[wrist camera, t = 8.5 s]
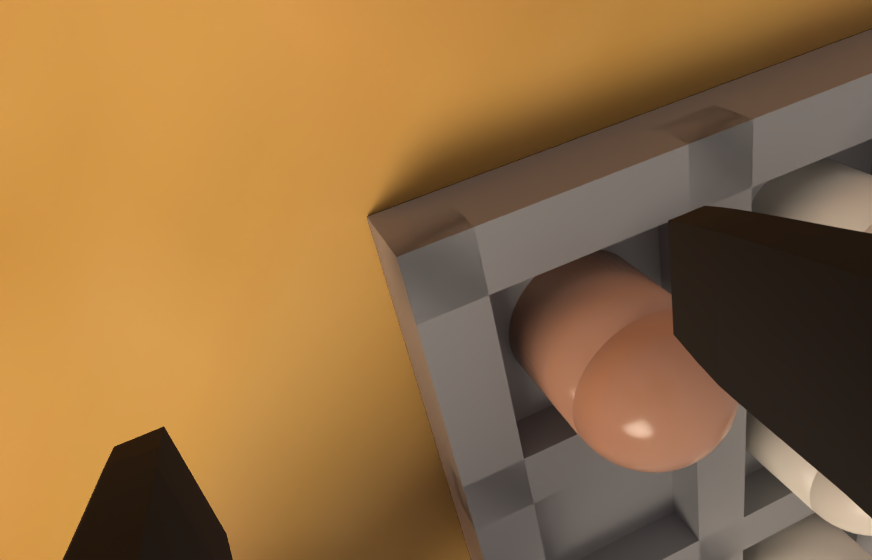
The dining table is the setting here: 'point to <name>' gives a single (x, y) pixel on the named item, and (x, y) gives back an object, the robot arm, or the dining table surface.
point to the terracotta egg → (618, 365)
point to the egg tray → (649, 253)
